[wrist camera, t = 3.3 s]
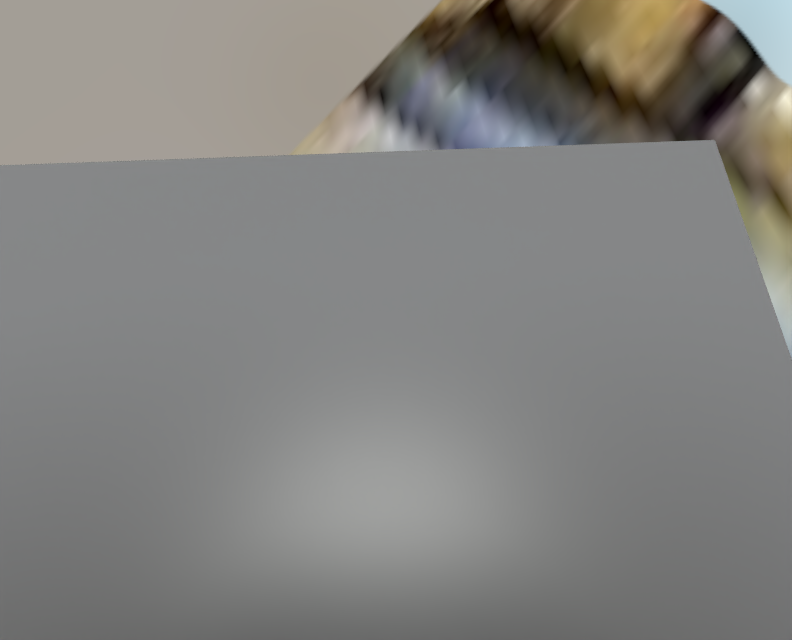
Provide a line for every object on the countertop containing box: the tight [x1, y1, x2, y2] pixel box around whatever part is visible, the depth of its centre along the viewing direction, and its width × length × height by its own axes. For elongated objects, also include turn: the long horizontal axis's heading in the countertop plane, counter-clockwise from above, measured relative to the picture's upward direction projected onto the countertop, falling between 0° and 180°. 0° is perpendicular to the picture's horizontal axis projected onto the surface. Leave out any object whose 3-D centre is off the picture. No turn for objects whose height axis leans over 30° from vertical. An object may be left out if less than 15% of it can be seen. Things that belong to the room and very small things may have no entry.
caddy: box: [0, 140, 792, 640], centre depth 9 cm, size 5×6×13 cm
